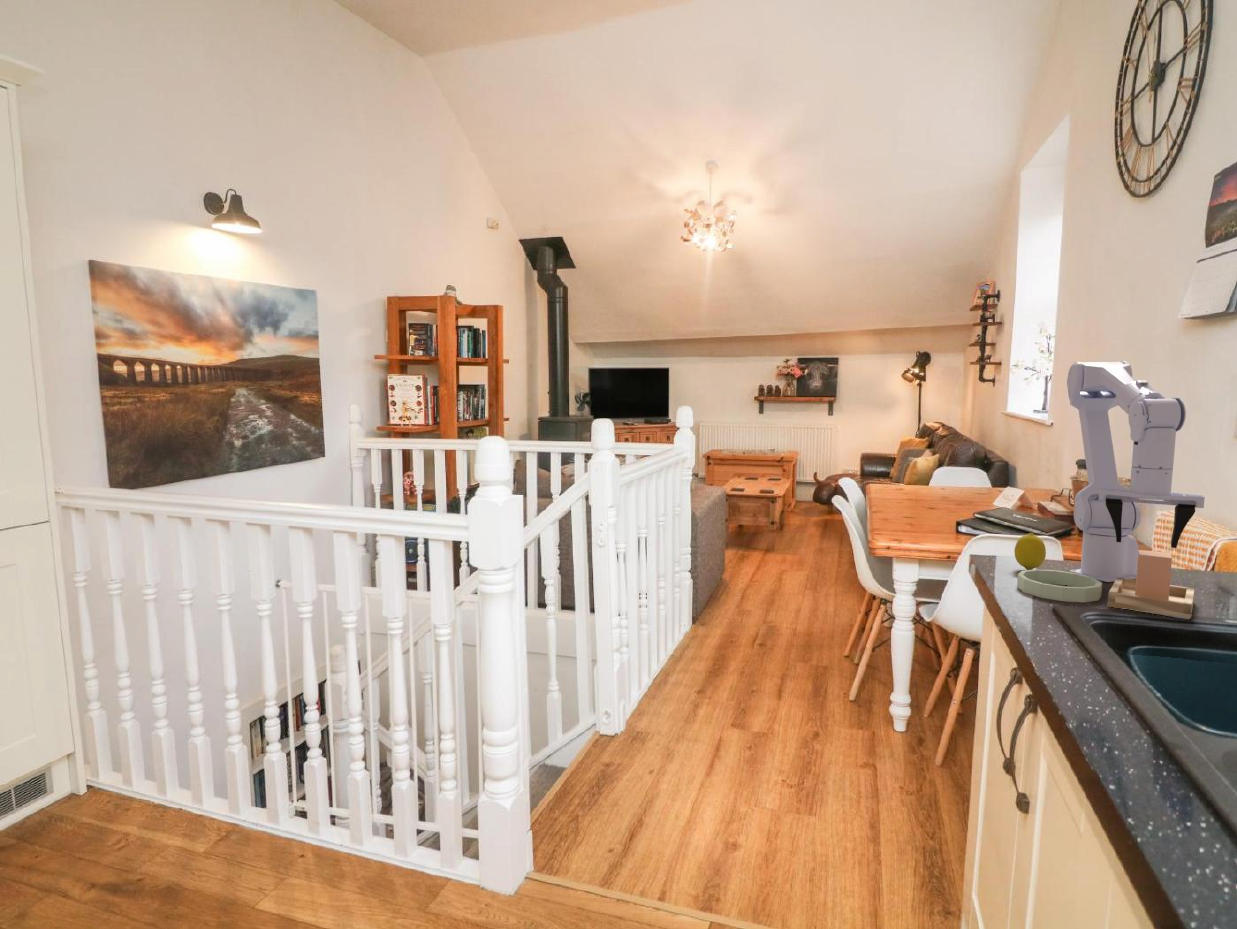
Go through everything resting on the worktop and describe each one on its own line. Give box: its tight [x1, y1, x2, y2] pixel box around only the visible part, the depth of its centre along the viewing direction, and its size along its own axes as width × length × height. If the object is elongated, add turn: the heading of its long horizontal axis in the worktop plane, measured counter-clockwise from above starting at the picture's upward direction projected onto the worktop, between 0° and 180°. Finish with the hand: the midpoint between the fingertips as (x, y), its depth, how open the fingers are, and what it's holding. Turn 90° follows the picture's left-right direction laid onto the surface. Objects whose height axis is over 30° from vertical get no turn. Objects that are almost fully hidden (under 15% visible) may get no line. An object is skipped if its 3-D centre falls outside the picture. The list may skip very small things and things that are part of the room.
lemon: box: [1014, 532, 1047, 570], centre depth 141 cm, size 6×6×8 cm
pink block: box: [1135, 549, 1173, 601], centre depth 118 cm, size 4×4×8 cm
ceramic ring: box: [1016, 568, 1103, 603], centre depth 127 cm, size 13×13×2 cm
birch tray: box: [1107, 577, 1195, 619], centre depth 119 cm, size 13×11×2 cm
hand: (1145, 544), depth 121 cm, fingers open, 7 cm apart
